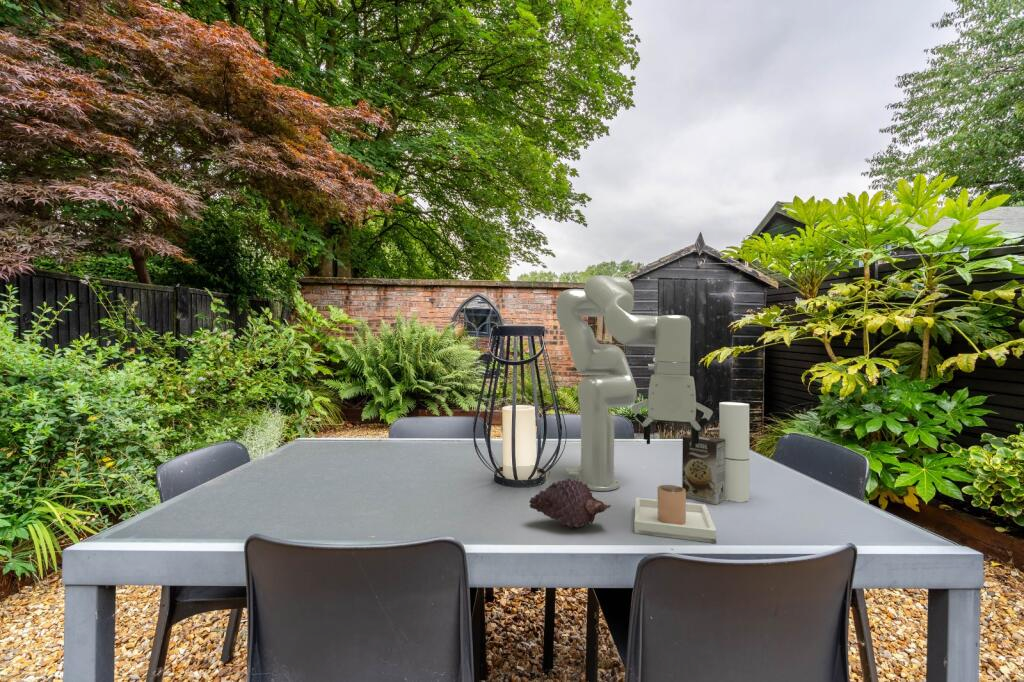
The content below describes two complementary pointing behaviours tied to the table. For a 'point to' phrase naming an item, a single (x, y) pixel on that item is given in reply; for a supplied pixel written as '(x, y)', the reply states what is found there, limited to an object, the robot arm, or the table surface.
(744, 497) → the cylindrical container
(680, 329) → the robot arm
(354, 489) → the table surface
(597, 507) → the pine cone
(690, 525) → the tray
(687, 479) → the coffee box
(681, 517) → the cup
